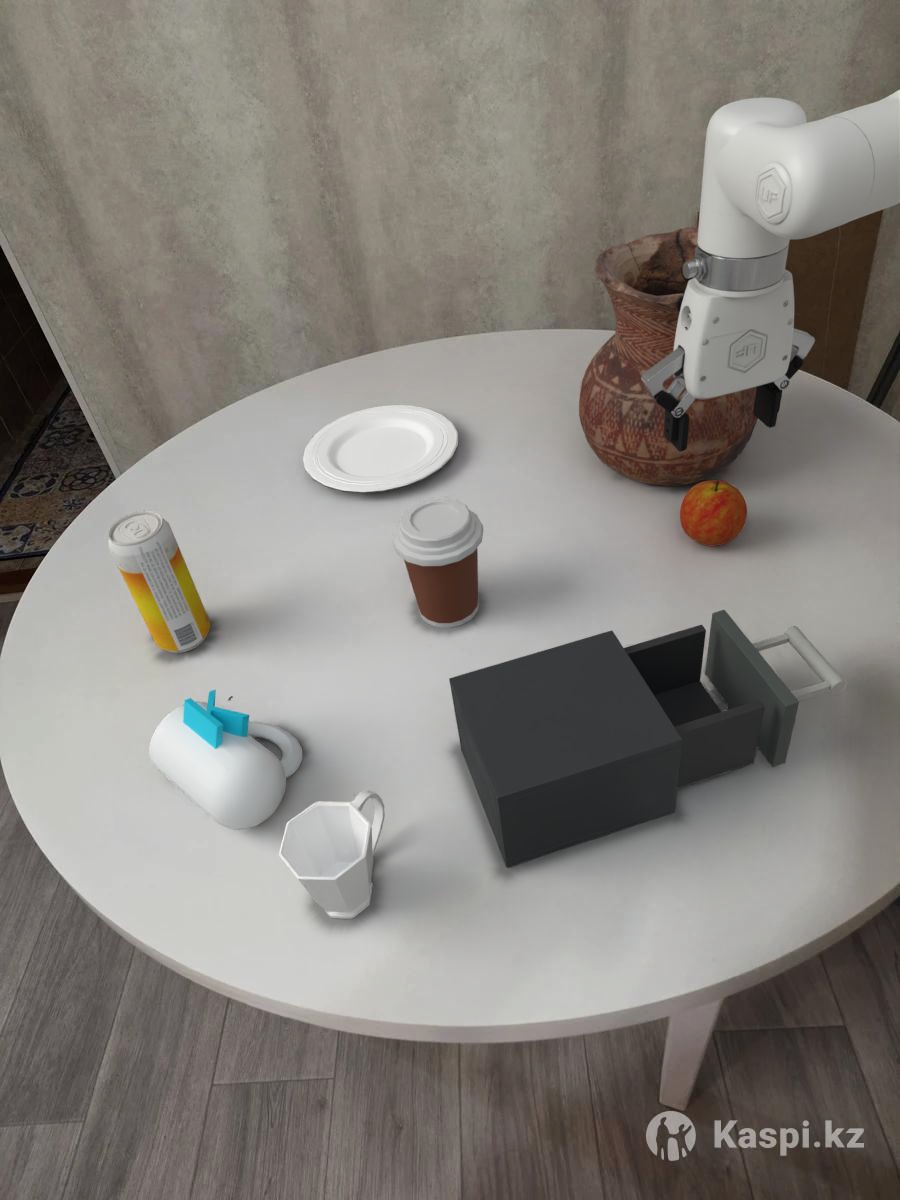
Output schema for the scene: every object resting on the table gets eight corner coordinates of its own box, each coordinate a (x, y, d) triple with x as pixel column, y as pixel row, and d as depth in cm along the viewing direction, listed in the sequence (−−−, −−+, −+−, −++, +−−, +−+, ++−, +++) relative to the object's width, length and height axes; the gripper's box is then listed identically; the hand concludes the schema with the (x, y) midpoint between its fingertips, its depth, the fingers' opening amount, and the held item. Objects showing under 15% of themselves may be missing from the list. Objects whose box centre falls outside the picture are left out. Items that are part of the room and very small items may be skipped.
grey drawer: (776, 651, 81) (788, 590, 76) (851, 741, 73) (871, 679, 68) (580, 712, 79) (579, 652, 73) (635, 812, 70) (638, 753, 65)
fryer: (611, 703, 80) (612, 629, 74) (675, 812, 71) (682, 739, 64) (461, 749, 78) (448, 678, 72) (506, 868, 69) (497, 798, 62)
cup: (285, 915, 68) (258, 860, 63) (352, 814, 74) (333, 757, 69) (360, 951, 65) (338, 897, 60) (423, 843, 71) (409, 786, 66)
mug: (234, 766, 67) (149, 696, 73) (228, 858, 70) (148, 783, 77) (347, 718, 75) (262, 659, 82) (336, 802, 79) (256, 739, 86)
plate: (446, 503, 106) (444, 490, 105) (286, 503, 110) (282, 490, 109) (470, 414, 121) (468, 402, 120) (328, 417, 125) (325, 405, 124)
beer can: (196, 609, 97) (150, 500, 87) (222, 635, 93) (177, 525, 83) (147, 636, 94) (94, 528, 84) (171, 665, 91) (118, 555, 80)
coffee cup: (501, 583, 94) (492, 493, 86) (477, 642, 88) (465, 551, 80) (422, 574, 97) (407, 486, 89) (394, 630, 91) (374, 541, 83)
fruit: (675, 520, 99) (679, 461, 93) (738, 518, 98) (746, 459, 92) (680, 559, 94) (685, 499, 88) (747, 558, 92) (756, 497, 87)
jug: (759, 509, 98) (792, 296, 82) (573, 507, 103) (569, 304, 86) (746, 408, 114) (771, 213, 97) (585, 410, 118) (583, 223, 102)
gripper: (668, 301, 71) (657, 473, 83) (855, 256, 74) (819, 429, 85) (629, 269, 77) (624, 435, 88) (804, 228, 79) (777, 395, 91)
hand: (720, 432), depth 87 cm, fingers open, 9 cm apart
